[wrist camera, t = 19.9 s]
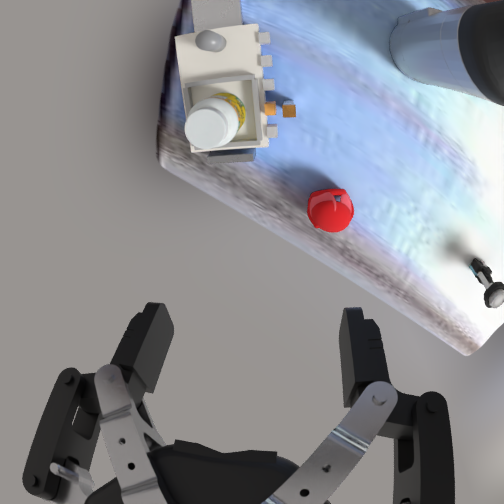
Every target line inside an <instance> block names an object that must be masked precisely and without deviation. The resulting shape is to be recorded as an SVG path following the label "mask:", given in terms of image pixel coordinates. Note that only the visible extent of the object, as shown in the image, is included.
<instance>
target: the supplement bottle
mask: <svg viewBox="0 0 504 504" xmlns="http://www.w3.org/2000/svg"><path fill="white" fill-rule="evenodd" d="M245 119H246V108H245V105H244V103H243V102H242V101H241V100H240V98H238V97H237V96H236V95H234V94H232V93H227V92H222V93H217V94H214V95H212V96H210V97H208V98H205V99H203V100H201V101H199V102H198V103H196V104H195V105H194V106H193V107H192V108H191V110H190V112H189V114H188V117H187V120H186V122H185V135H186V137H187V139H188V140H189V142H190V143H191V144H193V145H194V146H196V147H198V148H201V149H211V148H215V147H220V146H223V145H225V144H227V143H228V142H230V141H231V140H232V139H233V138H234V136H235V135H236V133H237V132H238V131H239V129H240V128H241V126H242V125H243V123H244V122H245Z"/></svg>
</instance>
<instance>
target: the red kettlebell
mask: <svg viewBox="0 0 504 504" xmlns="http://www.w3.org/2000/svg"><path fill="white" fill-rule="evenodd" d="M336 195H339V196H341V198H340V202H338V201H336V200H335V198H334V196H336ZM307 213H308V217H309V219H310V221H311V222H312V224H313V225H314V227H315V228H320V229H322V230H324V231H327V232H339V231H342V230H344V229H345V228H346V227H347V226H348V225H349V223H350V221H351V219H352V218H353V215H354V207H353V204H352V201H351V199H350V197H349V195H348V194H347V193H346V190H344V189H326V190H320V191H316V192H313V193H312V194H311V195H310V198H309V200H308V208H307Z"/></svg>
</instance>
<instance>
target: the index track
mask: <svg viewBox="0 0 504 504" xmlns="http://www.w3.org/2000/svg"><path fill="white" fill-rule="evenodd" d="M191 4H192V14H193V23H194V32H199V31H204V30H210V29H216V28H223V27H230V26H238V25H243V16H242V7H241V0H191ZM282 108H283V117H296V109H295V104H294V102H293V100H286V101H284V104H283V105H282ZM255 156H256V149H255V148H241V149H226V150H214V151H212V152H211V153H210V154H209V155H208V156H207V160H208V164H216V163H230V162H247V161H254V159H255Z"/></svg>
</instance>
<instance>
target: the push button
mask: <svg viewBox="0 0 504 504" xmlns="http://www.w3.org/2000/svg"><path fill="white" fill-rule="evenodd" d="M481 262H482V263H483V264H482V263H480V262H479V261H478V260H477V259H476V258H475V259H474V260H473V262H472V263H471V265H470V266H469V267H470V269H471V270H472V272H473V274H474V275H475V277H476V278H477V279H478V281H479V283H481V284H483V285H484V286H485V288H486V291H485V293H484V301H485V305H486V306H487V307H488V308H492V307H493V308H497V307H499V306H500V305H502V304H503V302H504V284H503V283H502V282H495V283H494V282H493V280H492V277H491V274H492V271H491V270H490V268H489V267H488V266H486V264H485V263H484V261H482V260H481Z"/></svg>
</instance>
